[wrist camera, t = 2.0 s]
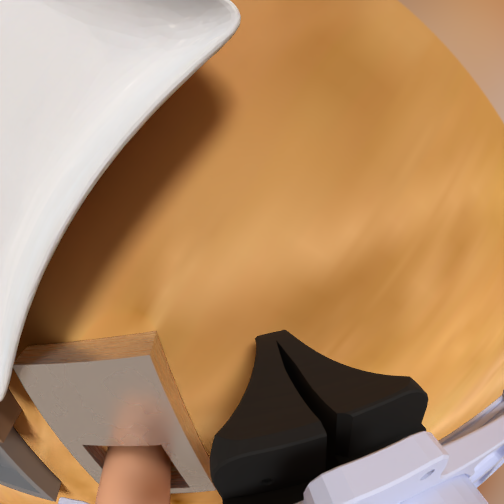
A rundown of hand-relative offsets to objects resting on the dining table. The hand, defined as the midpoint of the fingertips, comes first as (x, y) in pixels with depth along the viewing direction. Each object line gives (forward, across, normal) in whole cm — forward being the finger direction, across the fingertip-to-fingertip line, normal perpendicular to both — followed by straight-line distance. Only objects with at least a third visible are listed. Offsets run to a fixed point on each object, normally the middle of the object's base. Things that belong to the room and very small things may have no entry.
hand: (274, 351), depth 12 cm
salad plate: (+2, +14, -14) cm, 20 cm away
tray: (+1, +24, +9) cm, 26 cm away
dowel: (+1, +9, +7) cm, 11 cm away
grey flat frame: (+1, +9, +4) cm, 10 cm away
